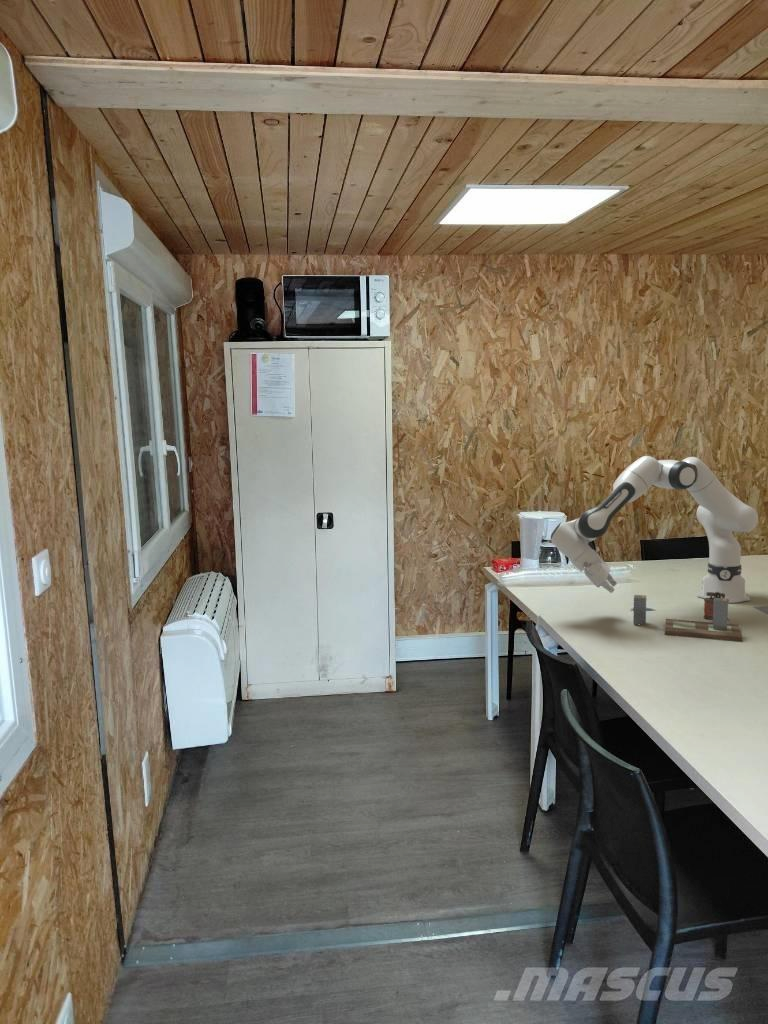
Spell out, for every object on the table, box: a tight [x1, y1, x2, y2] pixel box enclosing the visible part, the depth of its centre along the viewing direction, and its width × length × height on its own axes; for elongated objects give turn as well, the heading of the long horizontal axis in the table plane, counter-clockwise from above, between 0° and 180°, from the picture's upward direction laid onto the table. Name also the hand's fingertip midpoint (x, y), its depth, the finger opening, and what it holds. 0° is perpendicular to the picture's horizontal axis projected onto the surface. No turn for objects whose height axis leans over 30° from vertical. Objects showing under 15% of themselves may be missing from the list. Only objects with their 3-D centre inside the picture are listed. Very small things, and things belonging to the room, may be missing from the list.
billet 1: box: [632, 594, 647, 626], centre depth 236 cm, size 4×4×10 cm
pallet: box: [664, 618, 743, 642], centre depth 225 cm, size 14×23×2 cm, turn 66°
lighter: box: [703, 592, 729, 621], centre depth 238 cm, size 8×3×10 cm, turn 74°
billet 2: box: [712, 598, 729, 631], centre depth 222 cm, size 4×4×10 cm
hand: (614, 588), depth 238 cm, fingers open, 8 cm apart
